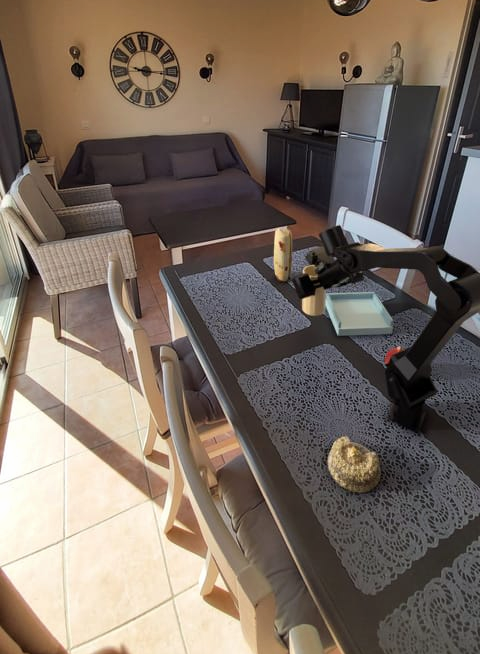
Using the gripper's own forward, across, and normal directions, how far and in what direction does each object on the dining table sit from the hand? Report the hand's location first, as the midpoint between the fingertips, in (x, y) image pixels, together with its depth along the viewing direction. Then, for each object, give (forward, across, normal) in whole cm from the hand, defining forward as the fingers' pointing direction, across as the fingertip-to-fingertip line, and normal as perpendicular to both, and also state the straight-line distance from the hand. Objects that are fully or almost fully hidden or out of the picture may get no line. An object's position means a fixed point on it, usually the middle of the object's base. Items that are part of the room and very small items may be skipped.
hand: (311, 287), depth 106 cm
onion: (-9, -8, +28) cm, 30 cm away
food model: (+30, -8, -11) cm, 33 cm away
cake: (-19, +18, +38) cm, 46 cm away
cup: (+4, 0, +6) cm, 7 cm away
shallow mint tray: (+7, -15, +12) cm, 21 cm away
